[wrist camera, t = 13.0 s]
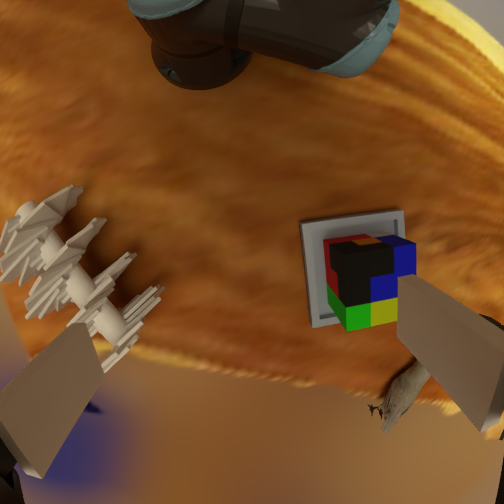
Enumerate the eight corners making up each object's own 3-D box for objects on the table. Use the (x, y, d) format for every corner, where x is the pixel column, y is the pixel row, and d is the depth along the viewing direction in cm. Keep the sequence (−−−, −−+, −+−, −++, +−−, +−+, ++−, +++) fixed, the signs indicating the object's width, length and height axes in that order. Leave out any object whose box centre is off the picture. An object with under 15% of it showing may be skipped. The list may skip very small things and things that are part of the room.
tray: (298, 221, 46) (301, 224, 44) (396, 208, 46) (403, 210, 44) (309, 321, 49) (312, 328, 47) (399, 303, 49) (405, 308, 47)
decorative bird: (430, 352, 52) (449, 372, 45) (380, 413, 55) (392, 436, 48) (414, 343, 51) (433, 362, 44) (362, 406, 54) (374, 430, 47)
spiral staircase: (81, 187, 48) (172, 299, 51) (10, 254, 42) (99, 368, 46) (56, 142, 31) (185, 304, 34) (-43, 238, 25) (78, 405, 28)
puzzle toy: (384, 230, 46) (416, 243, 36) (386, 292, 48) (414, 316, 38) (322, 239, 46) (343, 254, 36) (327, 303, 48) (346, 331, 38)
